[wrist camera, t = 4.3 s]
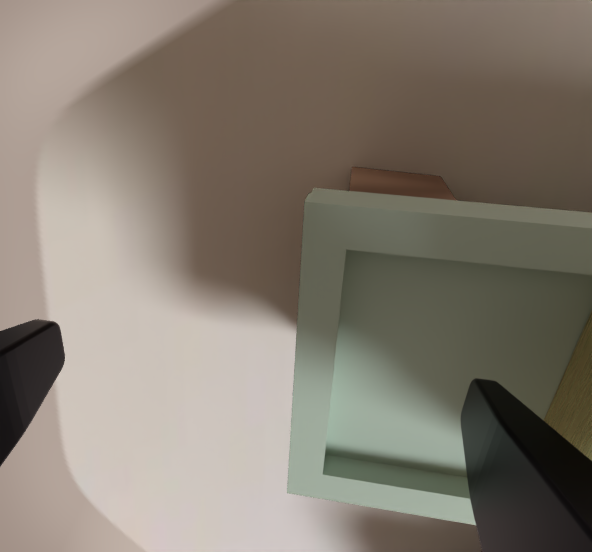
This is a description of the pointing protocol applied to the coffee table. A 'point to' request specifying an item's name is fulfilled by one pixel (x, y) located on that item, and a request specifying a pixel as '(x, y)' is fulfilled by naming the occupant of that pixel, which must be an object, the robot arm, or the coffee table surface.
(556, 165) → the coffee table surface
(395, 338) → the green rimmed tray
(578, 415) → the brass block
